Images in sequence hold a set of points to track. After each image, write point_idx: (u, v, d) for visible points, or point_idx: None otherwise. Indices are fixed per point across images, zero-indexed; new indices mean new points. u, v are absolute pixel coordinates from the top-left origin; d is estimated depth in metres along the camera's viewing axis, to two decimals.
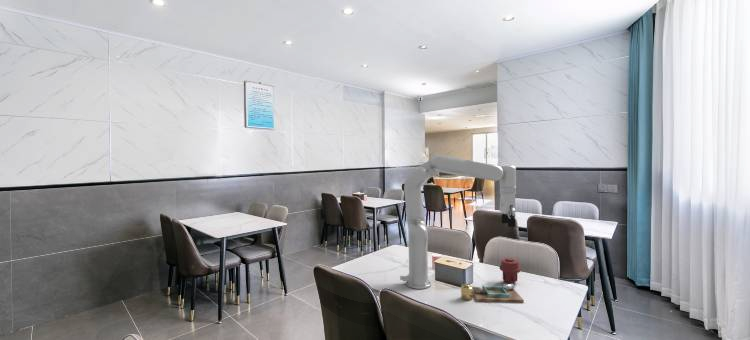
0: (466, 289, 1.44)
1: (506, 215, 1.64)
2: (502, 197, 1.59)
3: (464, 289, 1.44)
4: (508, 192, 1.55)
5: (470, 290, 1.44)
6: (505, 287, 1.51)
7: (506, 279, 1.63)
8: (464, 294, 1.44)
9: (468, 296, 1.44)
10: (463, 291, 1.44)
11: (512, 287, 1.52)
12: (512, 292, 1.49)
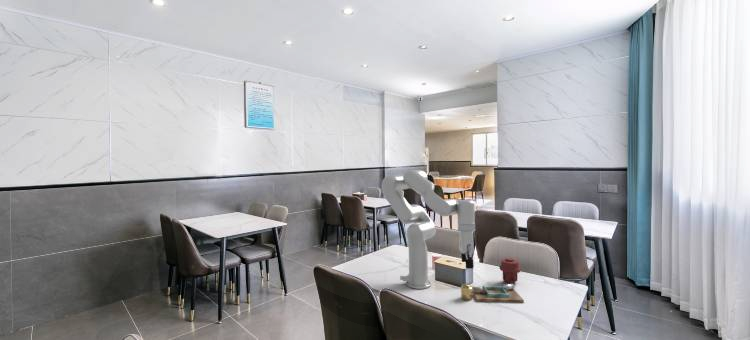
0: (466, 289, 1.44)
1: None
2: (460, 234, 1.45)
3: (464, 289, 1.44)
4: (465, 230, 1.42)
5: (470, 290, 1.44)
6: (505, 287, 1.51)
7: (506, 279, 1.63)
8: (464, 294, 1.44)
9: (468, 296, 1.44)
10: (463, 291, 1.44)
11: (512, 287, 1.52)
12: (512, 292, 1.49)
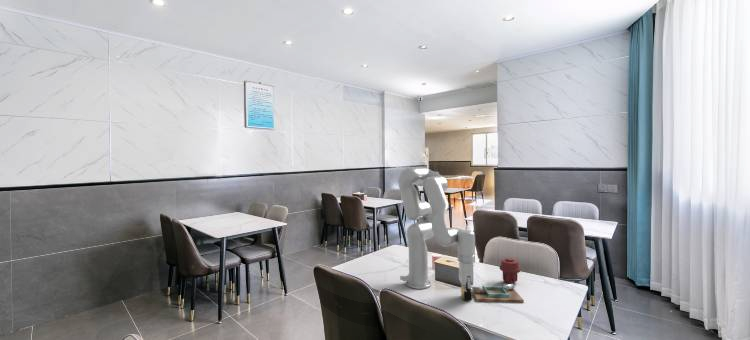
0: None
1: None
2: (460, 265, 1.46)
3: (464, 289, 1.44)
4: (465, 261, 1.42)
5: None
6: (505, 287, 1.51)
7: (506, 279, 1.63)
8: None
9: None
10: (463, 291, 1.44)
11: (512, 287, 1.52)
12: (512, 292, 1.49)
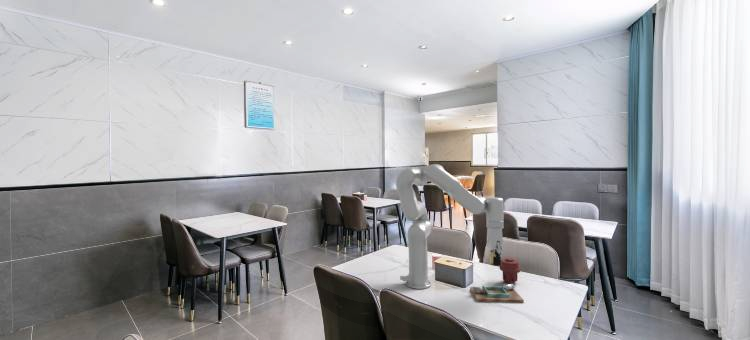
0: None
1: None
2: (489, 231, 1.48)
3: (493, 254, 1.47)
4: (495, 227, 1.45)
5: None
6: (505, 287, 1.51)
7: (506, 279, 1.63)
8: None
9: None
10: (492, 256, 1.47)
11: (512, 287, 1.52)
12: (512, 292, 1.49)
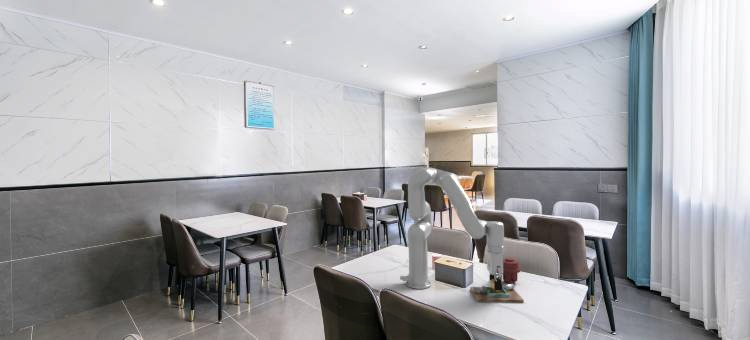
0: None
1: None
2: (489, 256, 1.48)
3: (493, 283, 1.47)
4: (495, 252, 1.45)
5: None
6: (505, 287, 1.51)
7: (506, 279, 1.63)
8: (493, 288, 1.47)
9: (497, 290, 1.47)
10: (492, 285, 1.47)
11: (512, 287, 1.52)
12: (512, 292, 1.49)
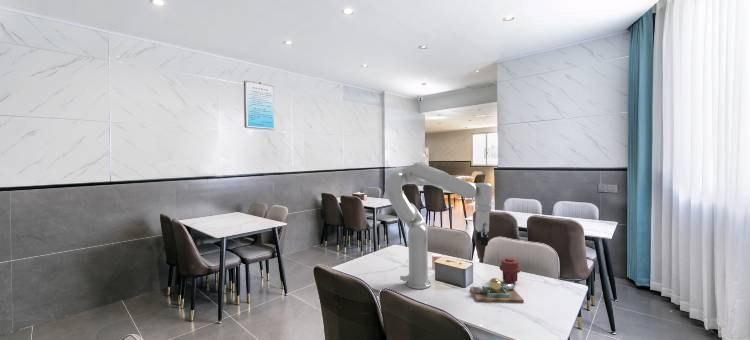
0: (495, 283, 1.47)
1: None
2: (477, 214, 1.57)
3: (493, 283, 1.47)
4: (482, 210, 1.53)
5: (499, 284, 1.47)
6: (505, 287, 1.51)
7: (506, 279, 1.63)
8: (493, 288, 1.47)
9: (497, 290, 1.47)
10: (492, 285, 1.47)
11: (512, 287, 1.52)
12: (512, 292, 1.49)
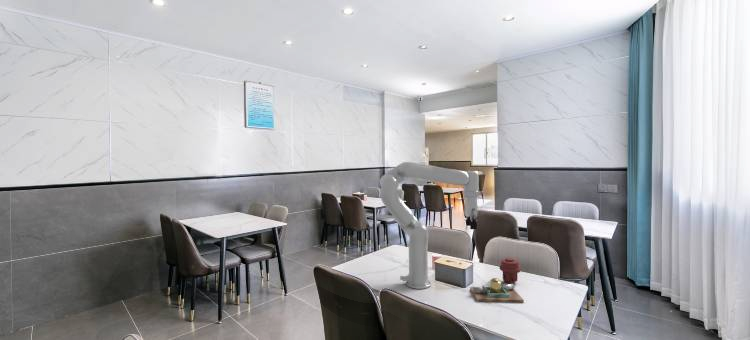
0: (495, 283, 1.47)
1: None
2: (465, 201, 1.67)
3: (493, 283, 1.47)
4: (470, 196, 1.63)
5: (499, 284, 1.47)
6: (505, 287, 1.51)
7: (506, 279, 1.63)
8: (493, 288, 1.47)
9: (497, 290, 1.47)
10: (492, 285, 1.48)
11: (512, 287, 1.52)
12: (512, 292, 1.49)
